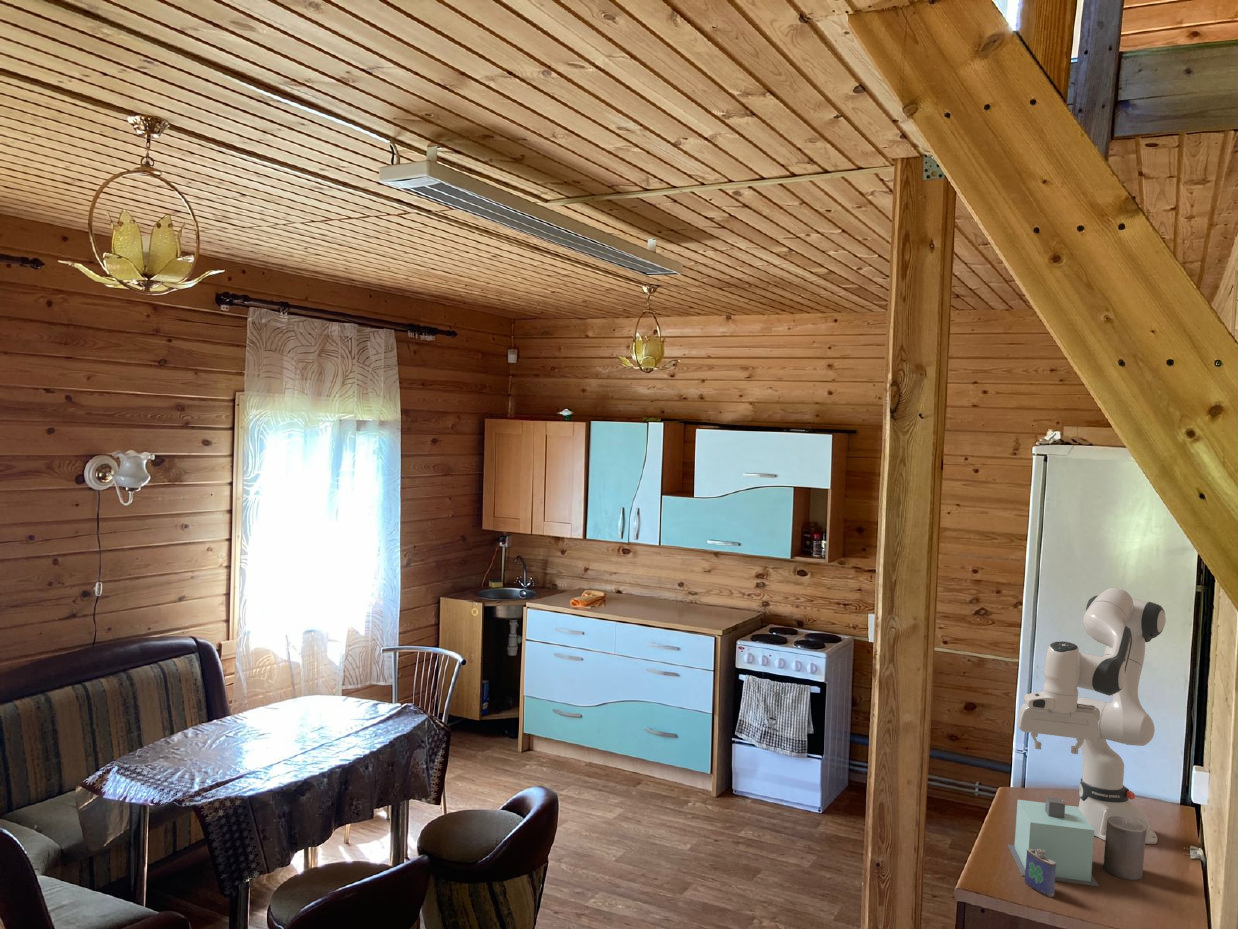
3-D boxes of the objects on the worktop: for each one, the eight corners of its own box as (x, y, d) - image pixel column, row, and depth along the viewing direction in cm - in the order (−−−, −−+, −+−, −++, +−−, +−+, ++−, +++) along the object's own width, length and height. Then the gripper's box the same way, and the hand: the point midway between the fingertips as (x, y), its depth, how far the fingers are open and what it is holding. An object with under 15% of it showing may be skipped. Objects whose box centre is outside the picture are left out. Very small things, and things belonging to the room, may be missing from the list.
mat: (1078, 855, 265) (1078, 853, 265) (1098, 886, 246) (1098, 885, 246) (1007, 845, 269) (1007, 844, 269) (1022, 876, 250) (1022, 875, 250)
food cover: (1074, 855, 264) (1078, 793, 263) (1090, 881, 248) (1095, 815, 247) (1014, 847, 267) (1018, 786, 266) (1027, 873, 251) (1031, 808, 251)
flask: (1056, 897, 239) (1058, 856, 239) (1047, 899, 238) (1049, 858, 238) (1029, 880, 248) (1031, 841, 248) (1020, 882, 247) (1023, 842, 247)
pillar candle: (1094, 865, 259) (1099, 813, 258) (1121, 861, 262) (1125, 809, 261) (1124, 882, 249) (1129, 828, 249) (1151, 878, 253) (1155, 824, 252)
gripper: (1097, 703, 257) (1093, 752, 257) (1018, 694, 262) (1015, 742, 262) (1103, 709, 251) (1100, 760, 251) (1022, 700, 255) (1019, 749, 256)
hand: (1055, 751), depth 257 cm, fingers open, 8 cm apart
